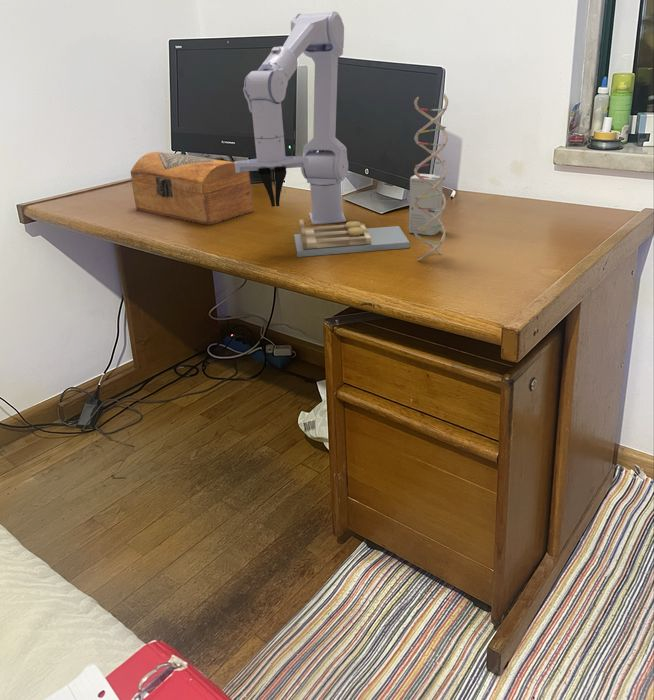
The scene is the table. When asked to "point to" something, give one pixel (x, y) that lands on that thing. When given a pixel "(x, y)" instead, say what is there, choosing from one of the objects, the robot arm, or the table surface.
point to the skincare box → (424, 204)
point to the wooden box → (190, 187)
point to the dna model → (433, 154)
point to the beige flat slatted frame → (331, 236)
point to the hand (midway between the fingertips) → (275, 205)
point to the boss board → (379, 241)
